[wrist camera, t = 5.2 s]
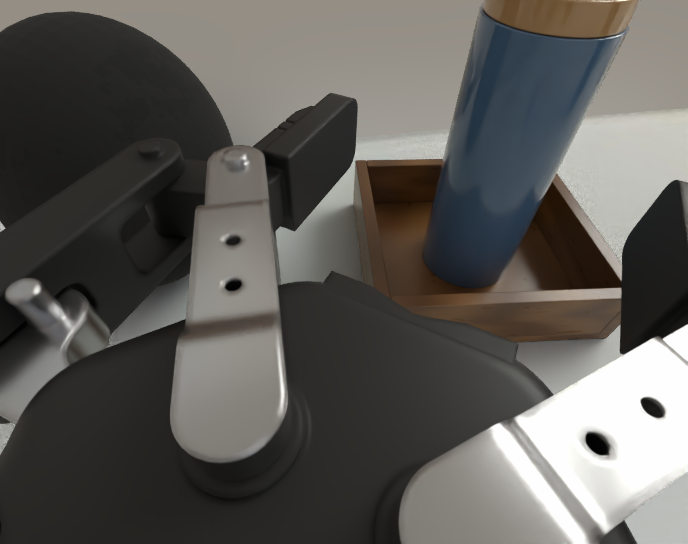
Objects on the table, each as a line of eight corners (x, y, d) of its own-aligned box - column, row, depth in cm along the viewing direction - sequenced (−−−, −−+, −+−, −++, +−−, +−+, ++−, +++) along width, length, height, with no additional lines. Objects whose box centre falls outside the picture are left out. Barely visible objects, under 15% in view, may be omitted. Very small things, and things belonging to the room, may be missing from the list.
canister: (492, 225, 30) (599, -37, 18) (520, 286, 26) (683, 2, 14) (414, 228, 29) (470, -39, 17) (431, 290, 26) (519, 1, 14)
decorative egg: (220, 187, 33) (162, -32, 22) (284, 284, 26) (248, 38, 15) (58, 238, 29) (-119, -4, 17) (84, 371, 22) (-178, 113, 11)
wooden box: (525, 199, 33) (545, 156, 30) (606, 338, 24) (646, 297, 21) (353, 203, 32) (355, 159, 29) (371, 349, 23) (377, 308, 20)
